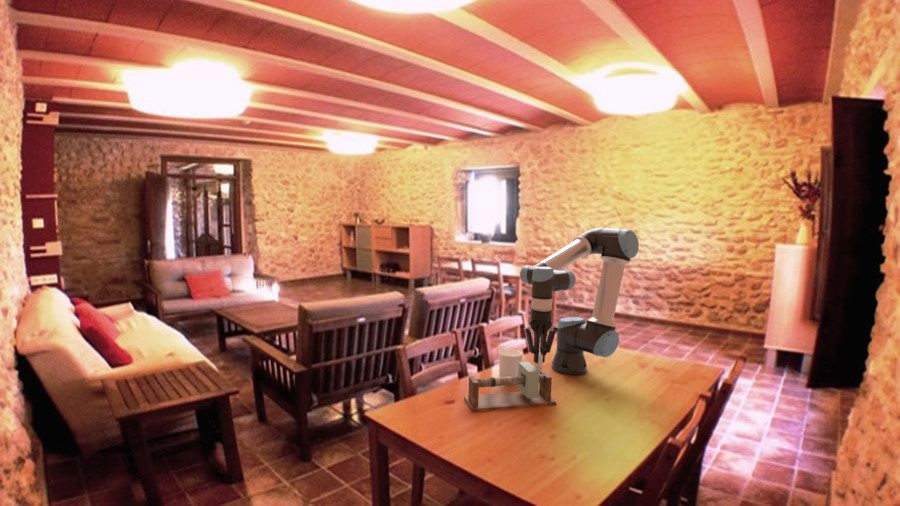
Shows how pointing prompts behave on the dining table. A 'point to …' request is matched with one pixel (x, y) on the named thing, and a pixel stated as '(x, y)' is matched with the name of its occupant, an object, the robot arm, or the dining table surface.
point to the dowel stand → (507, 399)
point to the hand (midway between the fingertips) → (538, 370)
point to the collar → (529, 379)
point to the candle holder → (509, 362)
